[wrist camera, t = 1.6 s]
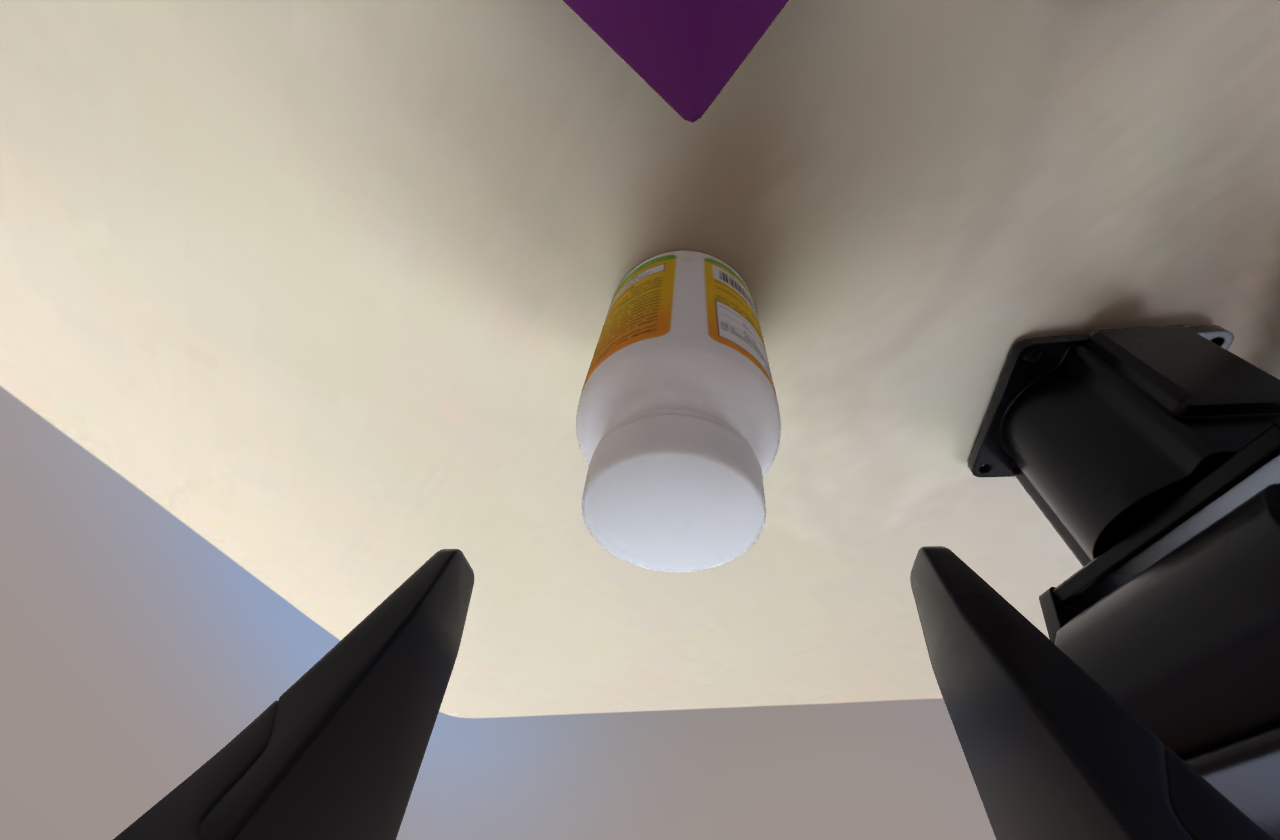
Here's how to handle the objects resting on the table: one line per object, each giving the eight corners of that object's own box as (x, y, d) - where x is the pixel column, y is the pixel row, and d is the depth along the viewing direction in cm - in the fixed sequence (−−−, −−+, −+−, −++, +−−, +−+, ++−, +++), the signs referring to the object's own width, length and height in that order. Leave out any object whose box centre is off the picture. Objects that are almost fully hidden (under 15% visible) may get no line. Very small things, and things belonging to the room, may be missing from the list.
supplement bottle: (608, 371, 20) (552, 577, 12) (613, 238, 16) (540, 405, 9) (738, 386, 19) (766, 604, 12) (771, 255, 16) (839, 440, 8)
